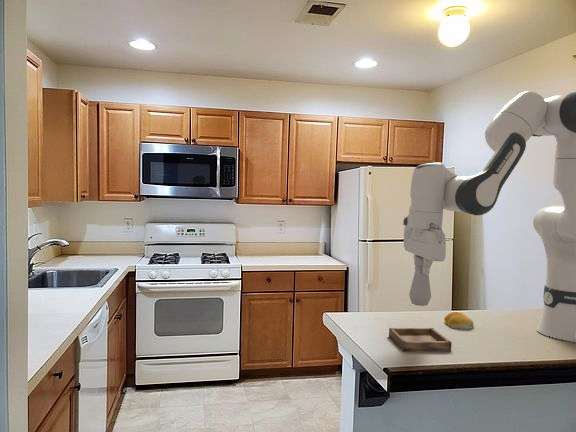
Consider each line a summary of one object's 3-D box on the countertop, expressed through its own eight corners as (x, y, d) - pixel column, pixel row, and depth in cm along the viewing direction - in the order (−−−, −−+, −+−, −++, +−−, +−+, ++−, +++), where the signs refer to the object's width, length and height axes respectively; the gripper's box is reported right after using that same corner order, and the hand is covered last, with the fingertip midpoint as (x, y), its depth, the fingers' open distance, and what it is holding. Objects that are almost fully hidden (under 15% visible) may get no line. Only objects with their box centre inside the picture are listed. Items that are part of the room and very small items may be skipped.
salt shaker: (431, 307, 122) (434, 259, 121) (409, 305, 123) (412, 257, 122) (429, 302, 127) (432, 256, 127) (408, 300, 129) (411, 254, 128)
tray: (432, 336, 133) (432, 327, 133) (451, 351, 121) (451, 342, 121) (388, 336, 131) (389, 328, 131) (403, 351, 119) (404, 342, 119)
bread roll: (452, 330, 139) (453, 317, 139) (441, 321, 148) (441, 309, 148) (478, 330, 140) (479, 318, 140) (465, 321, 149) (466, 309, 149)
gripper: (454, 226, 114) (450, 280, 115) (421, 219, 134) (418, 266, 135) (430, 225, 113) (426, 280, 114) (401, 218, 133) (398, 265, 134)
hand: (421, 272), depth 125 cm, fingers closed on salt shaker, 3 cm apart
